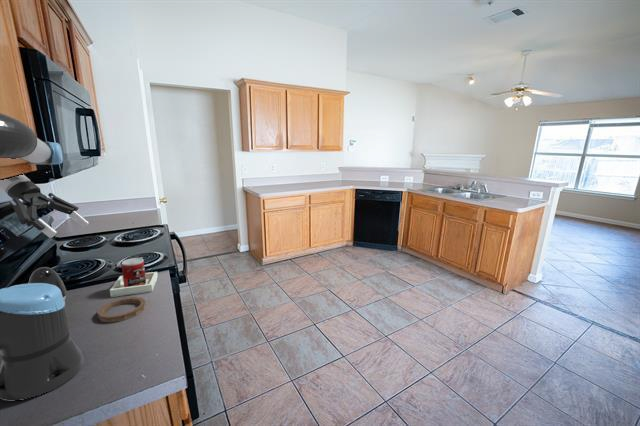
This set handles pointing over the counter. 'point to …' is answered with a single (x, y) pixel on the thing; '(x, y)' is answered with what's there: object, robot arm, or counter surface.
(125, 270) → the canned food
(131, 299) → the collar ring
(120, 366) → the counter surface
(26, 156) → the robot arm
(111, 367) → the counter surface
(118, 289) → the tray
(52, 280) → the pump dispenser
